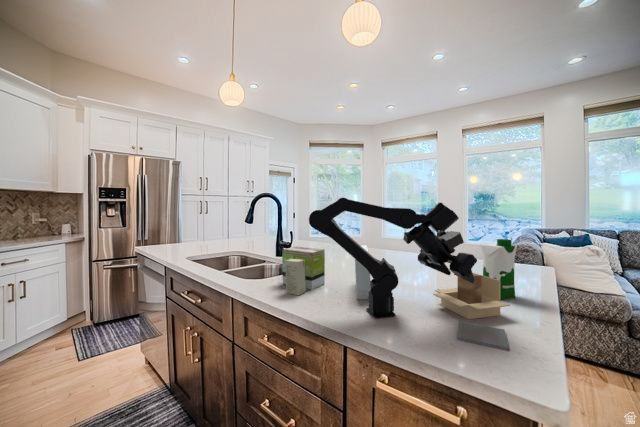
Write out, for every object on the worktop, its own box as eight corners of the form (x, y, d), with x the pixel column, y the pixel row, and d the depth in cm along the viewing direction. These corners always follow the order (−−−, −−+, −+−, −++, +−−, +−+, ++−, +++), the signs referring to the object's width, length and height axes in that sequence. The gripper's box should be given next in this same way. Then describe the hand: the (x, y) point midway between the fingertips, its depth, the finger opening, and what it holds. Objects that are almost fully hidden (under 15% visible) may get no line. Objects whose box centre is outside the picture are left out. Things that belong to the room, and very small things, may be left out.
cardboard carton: (468, 325, 70) (468, 287, 70) (426, 303, 86) (426, 272, 86) (510, 319, 73) (510, 283, 73) (462, 299, 90) (462, 269, 90)
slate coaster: (457, 339, 62) (457, 336, 62) (459, 323, 71) (459, 321, 71) (509, 350, 57) (509, 347, 57) (504, 331, 66) (504, 329, 66)
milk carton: (501, 301, 87) (501, 241, 87) (477, 293, 96) (477, 238, 96) (520, 298, 90) (520, 239, 90) (494, 290, 99) (495, 237, 98)
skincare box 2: (355, 282, 111) (355, 244, 111) (368, 282, 110) (368, 245, 110) (355, 299, 90) (354, 253, 90) (371, 300, 90) (371, 253, 89)
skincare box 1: (306, 292, 98) (305, 259, 98) (299, 295, 94) (298, 261, 94) (292, 289, 101) (292, 258, 101) (285, 292, 98) (284, 260, 98)
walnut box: (470, 313, 77) (470, 276, 77) (457, 307, 82) (457, 272, 82) (481, 312, 78) (481, 275, 78) (468, 306, 83) (468, 271, 83)
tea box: (281, 284, 109) (281, 248, 108) (296, 279, 117) (296, 245, 117) (312, 290, 101) (311, 251, 100) (325, 284, 109) (325, 248, 109)
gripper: (471, 224, 68) (505, 263, 71) (425, 221, 86) (454, 253, 89) (445, 256, 67) (481, 295, 69) (404, 246, 85) (434, 278, 88)
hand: (461, 277), depth 79 cm, fingers open, 9 cm apart
